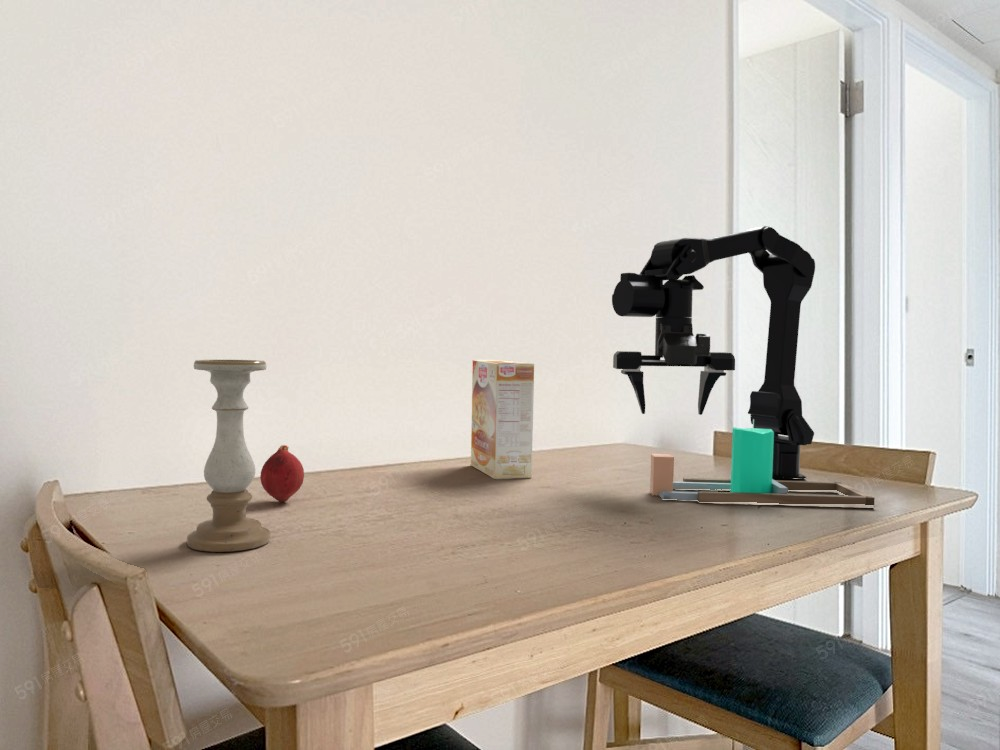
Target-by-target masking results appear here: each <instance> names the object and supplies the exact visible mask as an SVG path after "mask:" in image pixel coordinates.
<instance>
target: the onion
mask: <svg viewBox="0 0 1000 750" xmlns="http://www.w3.org/2000/svg"><path fill="white" fill-rule="evenodd" d="M304 479H305V470H304V467H303V464H302V463H301V461H300V460H299V458H297V456H296V455H294V454H293V453H291V452H289V446H288V445H286V444H281V445H280V446H279V447H278V449H277V451H276V452H275V453H273V454H272V455H270V456H269V457H268V458H267V460H266V461H265V462H264V463H263V466H262V468H261V471H260V483H261V485H262V486H261V487H262V488H263V489H264V490H265V492H266V493H267V494H268V495H269V496H271V497H272V498H273V499H275V500H276V501H278V503H285V502H287V501H288V500H289V499H290V498H291V497H292V496H293V495H295V494H297V492H298V491H299V490H300V489H301V487H302V485H303V483H304Z"/></svg>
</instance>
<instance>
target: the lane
mask: <svg viewBox="0 0 1000 750" xmlns="http://www.w3.org/2000/svg"><path fill="white" fill-rule="evenodd" d="M774 480H775V479H774ZM775 481H777V482H778V483H780V484H782V485H784V486H785V487H787V488H788V490H837V491H839V492H841V493H843V494H845V495H848V496H844V495H838V494H811V493H806V494H804V493H803V494H800V493H788V494H776V493H741V492H718V491H697V492H698V501H699V502H757V503H779V504H865V505H874V506H875V497H874V496H872V495H869V494H867V493H865V492H863V491H861V490H859V489H856V488H854V487H852V486H849V484H848V485H847V484H846V483H843V482H841V481H813V480H812V481H809V480H775ZM682 482H706V483H731V478H709V477H708V478H707V477H706V478H704V477H683V478H682Z"/></svg>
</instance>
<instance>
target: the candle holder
mask: <svg viewBox="0 0 1000 750" xmlns="http://www.w3.org/2000/svg"><path fill="white" fill-rule="evenodd" d="M193 369H194V370H197V371H205V372H208V373H210V379H209V382H210V384H212V386H214V388H215V391H216V392H217V398H216V400H215V402H214V403H213V405H212V407H211V409H212V410H214V411H215V413H216V433H215V440H214V443H213V446H212V448H211V451H210V452H209V455H208V456H207V460H206V462H205V465H204V469H203V476H204V481H205V483H206V485H208V487H210V488H211V489H212V491H211V492H210V493H209V494H208V495H207V496H206V501H207V502H208V503H209V504H210V507H211V510H212V519H208V520H204V521H202V522H200V523H199V524H198V525H197V526H196V529H195V530H193V531H191V532H190V533H188V534H187V538H186V543H187V546H188V548H190V549H192V550H195V551H201V552H210V553H211V552H212V553H216V552H217V553H226V552H227V553H230V552H240V551H246V550H251V549H252V550H253V549H256V548H259V547H262V546H264V545H266V544H268V543H269V542H270V540H271V532H270V530H269V529H268V528H267V527H263V526H262V523H261V521H259V519H255V518H251V517H247V515H246V513H247V508H248V505H249V502H251V500H252V498H253V495H252V493H251V492H249V491H248V490H247V488H248V487H249V486H250V485H251V484H252V482H253V480H255V479H254V478H255V477H256V466H255V463H254V460H253V457H252V455H251V453H250V450H249V449H248V446H247V443H246V441H245V436H244V435H245V433H244V415H245V411H247V410H248V409H249V405H248V404H247V403H246V400H245V399H244V391H245V388H246V387H247V386H248V385H249V384H251V373H253V372H257V371H258V372H259V371H266V370H267V363H266V361H264V360H256V359H255V360H251V359H197V360H196V359H195V361H194V363H193Z"/></svg>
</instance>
